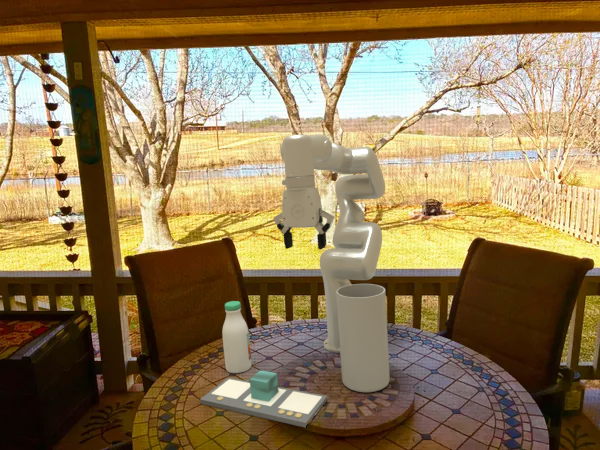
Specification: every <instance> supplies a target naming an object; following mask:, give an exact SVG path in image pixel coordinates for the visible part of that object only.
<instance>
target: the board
mask: <svg viewBox="0 0 600 450" xmlns="http://www.w3.org/2000/svg"><path fill="white" fill-rule="evenodd" d="M278 391H279V392H278V393H277V394H276V395H275V396H274V397H273V398H272V399H271V400H270V401H269V402H267V401H262V400H258V399H253V398H251V389H250V380H249V381H248V380H243V379H238V378H233V377H227V378H225V379H224V380H223V381H222V382H220V383H219V384H218V385H217V386H215V387H214V388H213V389H212V390H210V391H209V392H208V393H206V394H205V395H204V396H202V397H200V399H199V401H200V405H205V406H209V407H213V408H218V409H221V410H222V409H223V410H225V411H227V410H228V411H231V412H236V413H240V414H243V415H244V414H245V415H249V416H253V417H256V418H257V417H258V418H262V419H266V420H271V421H276V422H279V423H284V424H288V425H293V426H296V427H302V428H305V429H307V428H306V425H307V423H308V421H309V420H310V419H311V418H312V417H313V416H314V415H315V413H316V412H317V411H318V410H319V409H320V408H321V407H322V405H323V404H324V403H325V402H326V400H327V401H328V395H324V394H319V393H312V392H307V391H303V390H297V389H293V388H288V387H287V388H286V387H281V386H278ZM326 403H327V402H326ZM326 403H325V404H326ZM325 404H324V405H325ZM322 408H323V407H322ZM322 408H321V409H322Z"/></svg>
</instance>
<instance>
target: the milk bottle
mask: <svg viewBox="0 0 600 450" xmlns="http://www.w3.org/2000/svg"><path fill="white" fill-rule="evenodd" d="M241 310H242V304H241V302H240V301H238V300H237V301H236V300H232V301H227V302H225V303H224V311H225V313H226V314H225V318H224V319H225V320H224V322H223V326H222V332H221V333H222V334H221V336H222V344H223V345H222V346H223V355H224V364H225V369H226V371H227V372H228V373H230V374H241V373H244V372H247V371H249V370H250V369H251V368H252V354H251V353H252V352H251V341H250V335H249V327H248V325H247V321H245V318H244V317H243V315H242V312H241Z"/></svg>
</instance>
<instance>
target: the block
mask: <svg viewBox="0 0 600 450" xmlns="http://www.w3.org/2000/svg"><path fill="white" fill-rule="evenodd" d="M249 381H250V389H251V398H253V399H258V400H262V401H267V402H269V401H270V400H271V399H272V398H273V397H274V396H275V395H276V394H277V393H278V392H279V391H278V387H279V383H278V373H277V372H272V371H266V370H259V371H258V372H256V373H255V374H254V375H253V376H252V377H250V379H249Z"/></svg>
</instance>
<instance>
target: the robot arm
mask: <svg viewBox="0 0 600 450" xmlns="http://www.w3.org/2000/svg"><path fill="white" fill-rule="evenodd" d="M279 152H280V156H281V159H282V161H283V164H284V176H285V177H284V179H283V180H281V185H282V186H285V188H286V189H283V193H282V200H281V212H280V213H279V214H277V215H276V216H274V217H273V221H274V223H275V224H276V227H277V229H279V231H280V232H281V234H282V235H283V244H284V245H285V246H284V247H285V250H287V249H290V248H293V246H294V242H293V233H292V231H291V230H292V229H293V228H294V229H295V228H297V229H298V228H299V229H300V228H307V229H308V228H314V229H315V230H316V231H317V232H318V234H317V235H316V237H317V249H318V250H323V249H325V248H326V246H327V232H328V230H330V228H331V227H332V224H333V223H334V220H335V216H334V215H333V214H331V213H329V212H327V211H326V210H323V207H322V205H323V204H322V201H321V196H320V191H319V189H318V187H316V180H315V179H316V177H315V171H316V170H317V171H330V172H332V173H335V174H338V175H339V174H340V175H344V176H341V177H339V178H338V179H336V182H335V186H334V189H335V190H334V191H335V195H336V201H337V204H338V207H339V216H338V219H337V222H336V226H335V229H334V231H333V235H332V244H333V247H334V248H329V249H326V250H324V251H323V252H322V253H321V255H320V258H319V267H320V268H319V269H320V272H321V273H320V274H321V275H322V281H323V286H324V287H323V288H324V298H325V299H324V300H325V313H326V314H325V315H326V328H327V337H326V339H325V340H324V341H323V347H324V349H325V350H327V351H329V352H331V353H336V354H340V340H339V325H338V309H337V294H336V291H337V289H339V288H341V287H343V286H347V285H353V284H352V282H351V281H350V280H353V281H368V280H371V279H372V278H373V277H374V276H375V274H376V270H377V266H378V261H379V258H380V254H381V249H382V243H383V232H382V229H381V226H380V225H379V224H377V223H376V222H373V221H371V222H369V221H365V212H364V211H363V209H362V208H361V207H360V205H359V204H358V203H356V201H355V200H357V201H358V200H360V201H361V200H377V199H380V198H382V197H383V196H384V194H385V191H386V182H385V178H384V175H383V172H382V168H381V165H380V162H379V159H378V157H377V154H376V152H375V151H374V149H373V148H372V147H369V146H358V147H346V146H344V145H341V144H339V143H337V142H332V141H331V139H330V138H329V137H328V136H326V135H324V134H320V133H319V134H309V135H308V134H294V135H288V136H285V137H284V138H283V140H282V143H281V145H280V150H279ZM324 219H326V222H325V224H324V221H323V220H324Z"/></svg>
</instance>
